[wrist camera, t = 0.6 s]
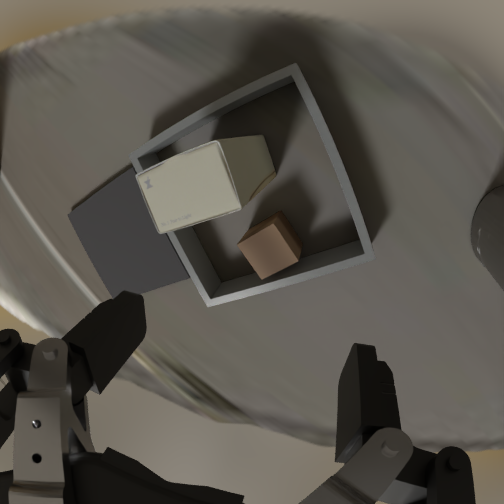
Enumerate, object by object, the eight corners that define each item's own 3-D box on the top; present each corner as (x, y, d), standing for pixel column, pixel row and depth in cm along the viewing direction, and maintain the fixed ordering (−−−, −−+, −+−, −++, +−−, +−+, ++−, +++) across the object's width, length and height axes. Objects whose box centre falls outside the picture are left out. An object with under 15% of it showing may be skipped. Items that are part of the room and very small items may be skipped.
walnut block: (281, 209, 29) (273, 223, 25) (303, 243, 30) (298, 261, 26) (248, 229, 31) (236, 244, 27) (270, 260, 32) (261, 279, 28)
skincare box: (220, 193, 30) (156, 238, 19) (205, 151, 28) (131, 175, 18) (279, 175, 28) (244, 213, 17) (264, 130, 26) (217, 138, 15)
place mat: (136, 165, 31) (132, 166, 30) (192, 274, 35) (189, 277, 34) (71, 213, 36) (67, 215, 35) (118, 299, 40) (115, 301, 39)
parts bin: (300, 70, 23) (296, 62, 20) (371, 243, 28) (375, 259, 25) (147, 150, 30) (128, 154, 27) (218, 290, 35) (207, 307, 32)
